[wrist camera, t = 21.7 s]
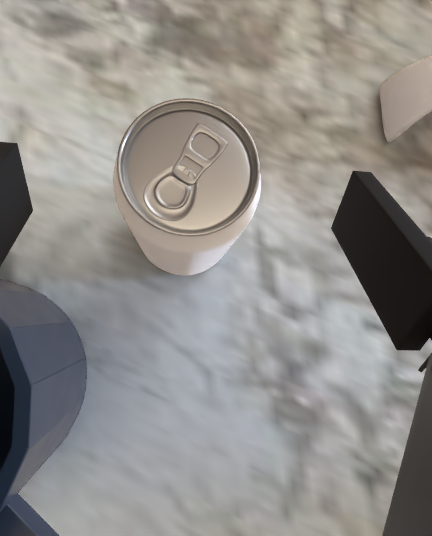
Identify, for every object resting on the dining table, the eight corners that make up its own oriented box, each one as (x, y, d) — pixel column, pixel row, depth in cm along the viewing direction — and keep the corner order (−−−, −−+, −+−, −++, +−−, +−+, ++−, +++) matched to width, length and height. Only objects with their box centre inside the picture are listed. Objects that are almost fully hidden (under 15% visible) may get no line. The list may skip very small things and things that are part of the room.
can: (119, 243, 26) (70, 185, 14) (171, 170, 27) (166, 57, 15) (197, 294, 26) (214, 280, 14) (245, 219, 27) (300, 146, 15)
